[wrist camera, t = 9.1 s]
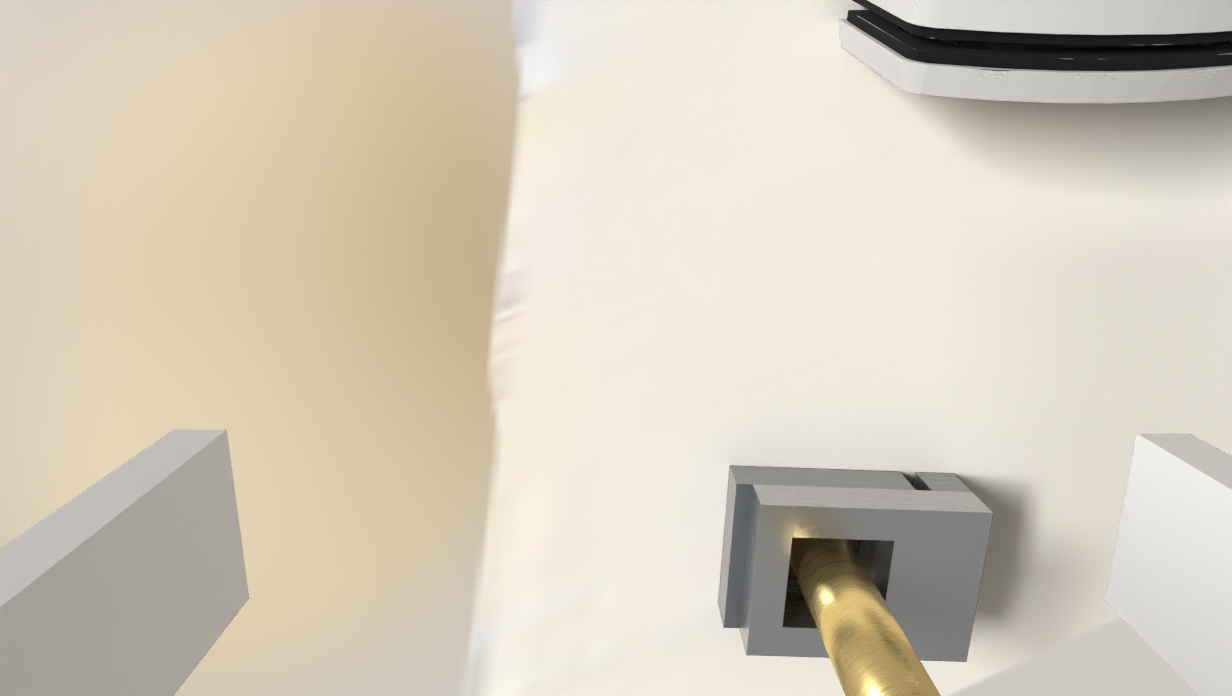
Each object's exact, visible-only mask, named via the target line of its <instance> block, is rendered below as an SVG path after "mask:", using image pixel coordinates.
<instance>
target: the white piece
mask: <svg viewBox="0 0 1232 696" xmlns="http://www.w3.org/2000/svg"><path fill="white" fill-rule="evenodd" d="M853 1H855V2H856V3H858V4H860V5H862V6H863V7H865V8H867V9H869V10H849V11H848V16H847V19H839V36H840V43H841V47H842V48H843V49H845V50H846V51H847V52H849V53H850V54H852V55H853V56H854V57H856V58H857V59H859V60H860V61H861V62H863V63H864V64H866V65H867V66H868V67H870V68H871V69H873V70H874V71H876V72H877V73H878V74H880V75H881V76H883V77H884V78H885V79H887V80H888V81H890V82H891V83H892V84H894V85H895V86H897V87H898V88H900V89H901V90H904V91H907V92H910V93H914V94H922V95H933V96H943V97H953V98H967V99H980V100H995V101H1018V102H1041V103H1146V102H1165V101H1180V100H1195V99H1206V98H1216V97H1226V96H1232V0H853Z"/></svg>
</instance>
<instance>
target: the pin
mask: <svg viewBox="0 0 1232 696" xmlns="http://www.w3.org/2000/svg"><path fill="white" fill-rule="evenodd" d="M790 564H791V567H792V569H793V571H794V574H795V576H796V579H797V581H798V583H799V586H800V588H801V590H802V593H803V595H804V598H805V600H806V602H807V605H808V607H809V609H810V612H811V614H812V617H813V619H814V621H815V624H816V626H817V629H818V631H819V633H820V636H821V638H822V640H823V643H824V645H825V648H826V650H827V652H828V655H829V657H830V659H831V662H832V664H833V667H834V669H835V671H836V674H837V676H838V678H839V681H840V683H841V686H842V688H843V690H844V693H845V695H846V696H940V694H939V692H938V691H937V689H936V687H935V685H934V684H933V682H932V680H931V679H930V677H929V675H928V674H927V672H926V670H925V668H924V667H923V665H922V663H921V662H920V660H919V658H918V657H917V655H916V653H915V651H914V650H913V648H912V646H911V645H910V643H909V641H908V640H907V638H906V636H905V634H904V633H903V631H902V629H901V628H900V626H899V624H898V623H897V621H896V619H895V617H894V616H893V614H892V612H891V611H890V609H889V607H888V606H887V604H886V602H885V600H884V599H883V597H882V595H881V594H880V592H879V590H878V589H877V587H876V585H875V583H874V582H873V580H872V578H871V577H870V575H869V573H868V572H867V570H866V568H865V566H864V565H863V563H862V561H861V560H860V558H859V556H858V555H857V553H856V551H855V549H854V548H853V546H852V544H851V543H850V541H849V539H826V538H796V537H792V544H791V553H790Z"/></svg>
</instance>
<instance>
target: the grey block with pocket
mask: <svg viewBox="0 0 1232 696" xmlns="http://www.w3.org/2000/svg"><path fill="white" fill-rule="evenodd" d="M992 518H993V512H992V511H991V510H990V509H989V508H988V507H987V506H986V505H985V504H984V503H983V502H982V501H981V500H980V499H979V498H978V497H977V496H976V495H975V494H974V493H973V492H972V491H971V490H970V489H969V488H968V487H967V486H966V485H965V484H964V483H963V482H962V481H961V480H960V479H959V478H958V477H957V476H956V475H955V474H952V473H924V472H915V479H914V485H913V486H912V485H911V484H910V483H909V482H908V480H907V479H906V478H905V477H904V476H903V475H902V473H901V472H895V471H867V470H839V469H811V468H783V467H754V466H730V470H729V481H728V493H727V505H726V516H725V528H724V540H723V551H722V563H721V575H720V586H719V598H718V605H719V609H720V614H721V618H722V622H723V626H724V628H739V629H740V633H741V636H742V640H743V644H744V648H745V652H746V655H760V656H793V657H826V658H830V657H829V655H828V652H827V650H826V648H825V645H824V643H823V640H822V638H821V636H820V633H819V631H818V629H817V626H816V624H815V621H814V619H813V617H812V614H811V612H810V609H809V607H808V605H807V602H806V600H805V598H804V595H803V593H802V590H801V588H800V586H799V583H798V581H797V579H788V572H789V562H790V553H791V544H792V537H796V538H826V539H855V540H860V543H859V550H858V556H859V558H860V560H861V561H862V563H863V565H864V566H865V568H866V570H867V572H868V573H869V575H870V577H871V578H872V580H873V582H874V583H875V585H876V587H877V589H878V590H879V592H880V594H881V595H882V597H883V599H884V600H885V602H886V604H887V606H888V607H889V609H890V611H891V612H892V614H893V616H894V617H895V619H896V621H897V623H898V624H899V626H900V628H901V629H902V631H903V633H904V634H905V636H906V638H907V640H908V641H909V643H910V645H911V646H912V648H913V650H914V651H915V653H916V655H917V657H918V658H919V660H923V661H956V662H966V661H967V656H968V650H969V645H970V639H971V634H972V628H973V623H974V617H975V612H976V606H977V600H978V595H979V589H980V584H981V578H982V573H983V567H984V562H985V556H986V551H987V545H988V540H989V534H990V529H991V523H992Z"/></svg>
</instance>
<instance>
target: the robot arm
mask: <svg viewBox="0 0 1232 696" xmlns="http://www.w3.org/2000/svg"><path fill="white" fill-rule="evenodd" d="M248 599H249V594H248V586H247V579H246V571H245V565H244V557H243V549H242V541H241V534H240V526H239V519H238V512H237V504H236V496H235V489H234V482H233V475H232V467H231V459H230V452H229V444H228V437H227V430H172V431H171V432H169V433H168V434H166V435H165V436H163V437H162V438H160V439H159V440H158V441H156V442H155V443H153V444H152V445H150V446H149V447H147V448H146V449H144V450H143V451H142V452H140V453H139V454H137V455H136V456H135V457H133V458H131V459H130V460H129V461H127V462H126V463H124V464H123V465H121V466H120V467H118V468H117V469H115V470H114V471H113V472H111V473H110V474H108V475H107V476H105V477H104V478H102V479H101V480H100V481H98V482H97V483H95V484H94V485H92V486H91V487H89V488H88V489H86V490H85V491H84V492H82V493H81V494H79V495H78V496H76V497H75V498H73V499H72V500H70V501H69V502H68V503H66V504H65V505H63V506H62V507H60V508H59V509H57V510H56V511H54V512H53V513H52V514H50V515H49V516H47V517H46V518H44V519H43V520H41V521H40V522H39V523H37V524H36V525H34V526H33V527H31V528H30V529H28V530H27V531H26V532H24V533H22V534H21V535H20V536H18V537H17V538H15V539H14V540H12V541H11V542H9V543H8V544H6V545H5V546H4V547H2V548H1V549H0V696H174V695H175V693H176V692H177V691H178V689H179V688H180V687H181V686H182V684H183V683H184V682H185V680H186V679H187V678H188V676H189V675H190V674H191V673H192V671H193V670H194V669H195V667H196V666H197V665H198V664H199V662H200V661H201V660H202V658H203V657H204V656H205V655H206V653H207V652H208V651H209V649H210V648H211V647H212V645H213V644H214V643H215V642H216V640H217V639H218V638H219V637H220V635H221V634H222V632H223V631H224V630H225V629H226V627H227V626H228V625H229V624H230V622H231V621H232V620H233V618H234V617H235V616H236V615H237V613H238V612H239V610H240V609H241V608H242V607H243V606H244V604H245V603H246V602H247V600H248ZM1105 602H1106V603H1107V604H1108V605H1109V606H1110V607H1111V608H1112V609H1113V610H1114V611H1115V612H1116V613H1117V614H1118V615H1119V616H1120V617H1121V618H1122V619H1123V620H1124V621H1125V622H1126V623H1127V624H1128V625H1129V626H1131V628H1133V629H1134V630H1135V631H1136V632H1137V633H1138V634H1139V635H1140V636H1141V637H1142V638H1143V639H1144V640H1145V641H1146V642H1147V643H1148V644H1149V645H1150V646H1151V647H1152V648H1153V649H1154V650H1155V651H1156V652H1157V653H1158V654H1159V655H1160V656H1161V657H1162V658H1163V659H1164V660H1165V661H1166V662H1167V663H1168V664H1169V665H1171V666H1172V668H1174V669H1175V670H1176V671H1177V672H1178V673H1179V674H1180V675H1181V676H1182V677H1183V678H1184V679H1185V680H1186V681H1187V682H1188V683H1189V684H1190V685H1191V686H1192V687H1193V688H1194V689H1195V690H1196V691H1197V692H1198V693H1199V694H1200V695H1201V696H1232V456H1230V455H1228V454H1226V453H1225V452H1223V451H1221V450H1219V449H1217V448H1215V447H1213V446H1212V445H1210V444H1208V443H1206V442H1204V441H1202V440H1200V439H1199V438H1197V437H1195V436H1193V435H1191V434H1137V438H1136V443H1135V448H1134V453H1133V459H1132V464H1131V469H1130V474H1129V480H1128V485H1127V490H1126V495H1125V501H1124V506H1123V511H1122V516H1121V522H1120V527H1119V532H1118V537H1117V543H1116V548H1115V553H1114V558H1113V564H1112V569H1111V574H1110V579H1109V584H1108V590H1107V595H1106V600H1105Z"/></svg>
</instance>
